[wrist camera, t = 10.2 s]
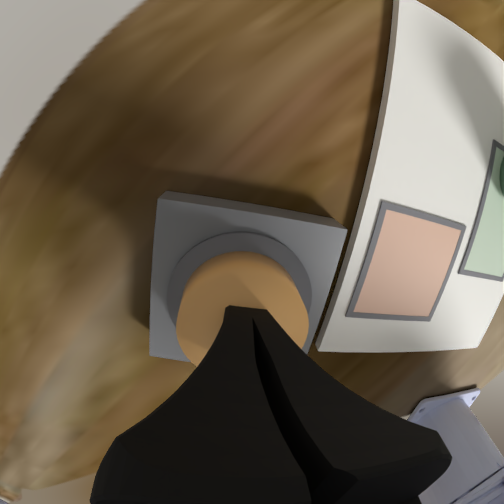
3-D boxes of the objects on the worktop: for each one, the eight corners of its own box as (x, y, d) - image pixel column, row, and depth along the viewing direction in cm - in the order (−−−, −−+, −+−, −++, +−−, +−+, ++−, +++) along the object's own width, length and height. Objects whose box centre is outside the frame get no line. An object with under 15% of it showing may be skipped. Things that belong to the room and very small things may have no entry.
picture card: (472, 343, 17) (477, 348, 16) (315, 344, 15) (318, 352, 14) (540, 102, 11) (547, 103, 10) (393, -5, 9) (401, -9, 8)
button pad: (294, 350, 15) (302, 375, 13) (155, 334, 14) (148, 359, 12) (333, 218, 13) (350, 232, 11) (166, 190, 12) (155, 200, 10)
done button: (282, 354, 13) (290, 383, 11) (178, 343, 12) (173, 372, 10) (310, 260, 11) (324, 282, 9) (188, 242, 10) (181, 263, 9)
